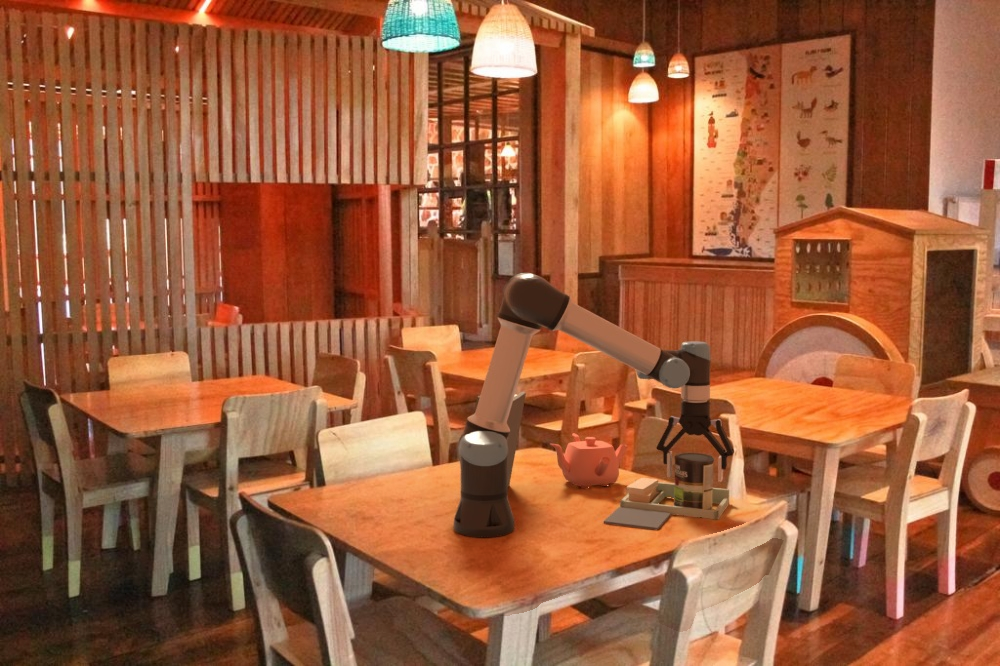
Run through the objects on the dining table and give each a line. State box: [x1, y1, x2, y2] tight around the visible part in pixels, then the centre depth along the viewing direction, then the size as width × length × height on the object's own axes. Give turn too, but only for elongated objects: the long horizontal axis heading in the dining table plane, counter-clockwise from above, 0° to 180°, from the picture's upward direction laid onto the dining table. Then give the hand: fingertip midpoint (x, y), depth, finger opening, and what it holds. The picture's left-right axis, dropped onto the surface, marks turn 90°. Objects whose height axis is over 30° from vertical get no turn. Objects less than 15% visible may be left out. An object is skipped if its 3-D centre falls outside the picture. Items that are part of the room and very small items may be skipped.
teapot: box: [549, 432, 628, 489], centre depth 280 cm, size 18×18×14 cm
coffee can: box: [673, 452, 715, 510], centre depth 255 cm, size 10×10×14 cm
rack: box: [619, 477, 730, 520], centre depth 258 cm, size 16×26×5 cm, turn 67°
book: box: [473, 391, 527, 487], centre depth 268 cm, size 22×9×28 cm, turn 167°
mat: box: [603, 506, 672, 531], centre depth 246 cm, size 14×14×1 cm
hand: (694, 478), depth 255 cm, fingers open, 13 cm apart
